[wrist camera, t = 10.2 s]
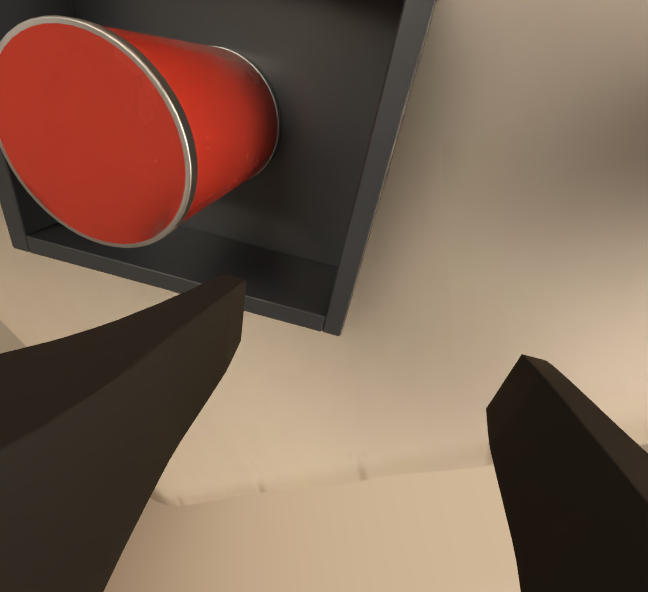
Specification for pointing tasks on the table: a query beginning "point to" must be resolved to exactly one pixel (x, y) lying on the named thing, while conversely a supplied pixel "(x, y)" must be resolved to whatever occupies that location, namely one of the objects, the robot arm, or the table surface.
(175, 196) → the tin can
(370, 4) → the drawer
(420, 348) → the table surface
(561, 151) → the table surface
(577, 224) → the table surface
